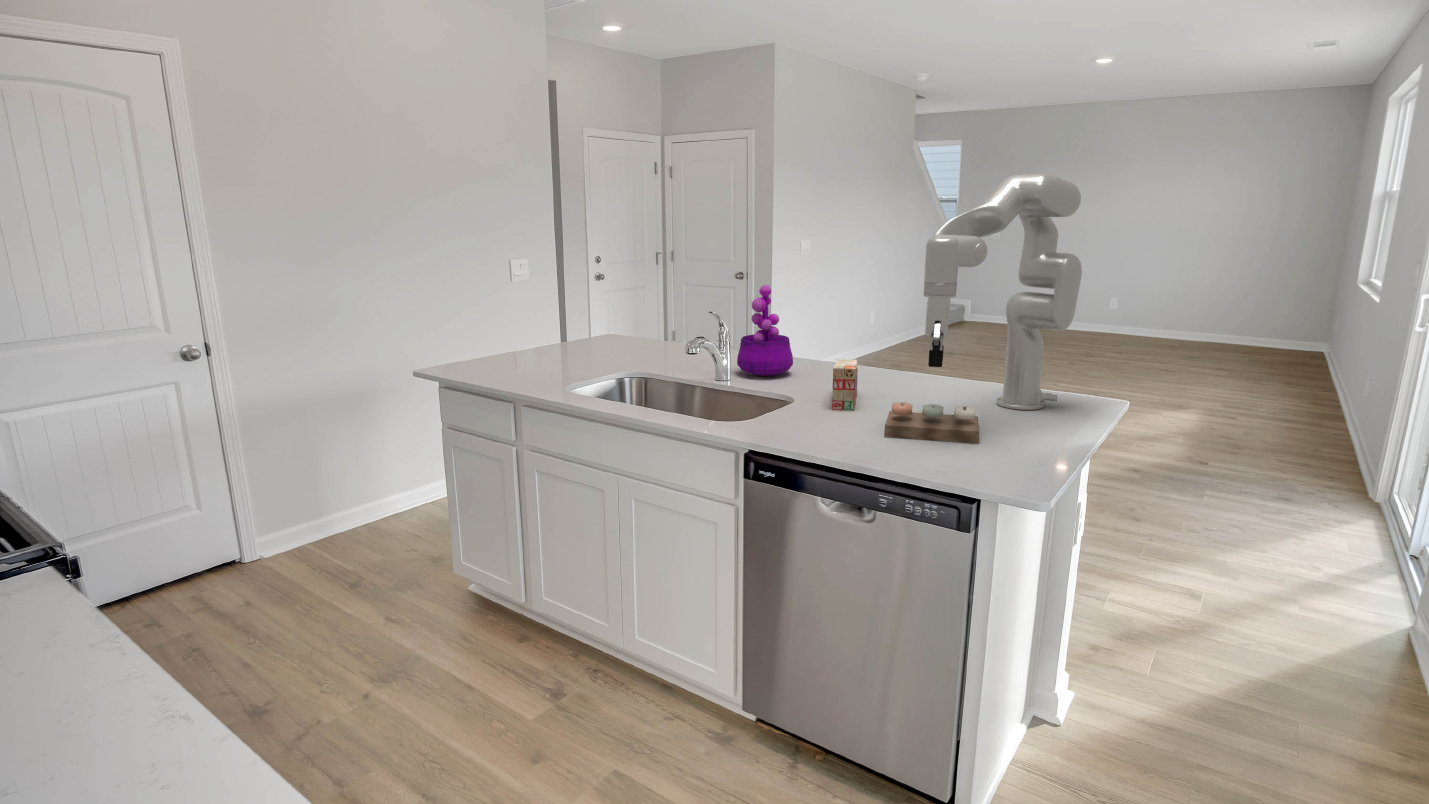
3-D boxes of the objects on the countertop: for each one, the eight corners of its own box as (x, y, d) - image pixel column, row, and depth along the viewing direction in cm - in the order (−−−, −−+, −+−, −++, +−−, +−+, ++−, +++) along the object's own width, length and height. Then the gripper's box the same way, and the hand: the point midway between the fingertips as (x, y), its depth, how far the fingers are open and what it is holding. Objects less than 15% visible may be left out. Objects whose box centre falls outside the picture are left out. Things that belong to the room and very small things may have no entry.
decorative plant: (777, 382, 250) (778, 289, 243) (727, 377, 259) (726, 286, 252) (801, 371, 266) (803, 283, 259) (753, 366, 275) (753, 281, 268)
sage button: (943, 412, 195) (943, 404, 195) (942, 417, 191) (943, 409, 190) (922, 411, 197) (923, 403, 196) (921, 416, 192) (922, 408, 192)
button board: (977, 427, 198) (978, 416, 198) (978, 443, 185) (979, 431, 185) (889, 421, 204) (889, 410, 204) (884, 436, 192) (884, 425, 191)
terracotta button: (912, 410, 197) (912, 402, 197) (911, 415, 193) (911, 407, 192) (892, 409, 199) (892, 401, 198) (890, 414, 194) (891, 406, 194)
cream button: (974, 414, 193) (975, 406, 193) (975, 419, 189) (975, 411, 188) (953, 413, 195) (954, 405, 194) (953, 418, 190) (954, 410, 190)
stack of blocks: (836, 392, 237) (837, 352, 234) (857, 393, 236) (858, 353, 233) (831, 410, 217) (832, 367, 214) (854, 411, 216) (856, 368, 213)
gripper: (925, 286, 195) (921, 356, 200) (922, 293, 179) (918, 370, 184) (956, 286, 193) (951, 358, 198) (956, 294, 177) (951, 372, 182)
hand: (935, 363), depth 191 cm, fingers open, 6 cm apart
